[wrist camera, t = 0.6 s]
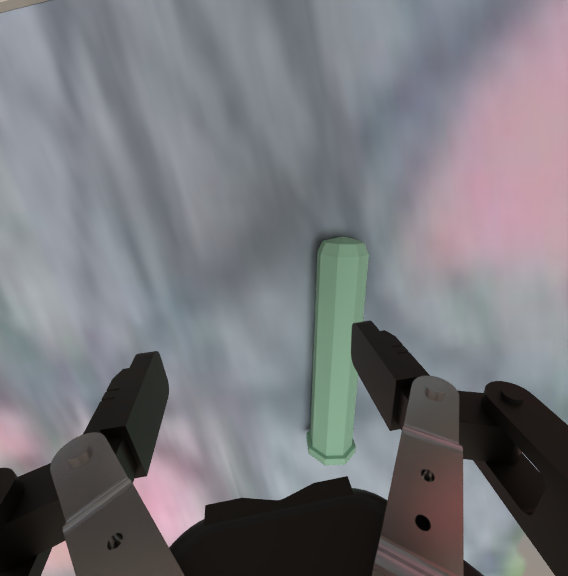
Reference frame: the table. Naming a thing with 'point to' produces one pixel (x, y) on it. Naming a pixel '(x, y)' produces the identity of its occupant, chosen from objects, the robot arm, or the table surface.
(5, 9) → the panel
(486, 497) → the table surface
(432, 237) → the table surface
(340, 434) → the green faceted rod
